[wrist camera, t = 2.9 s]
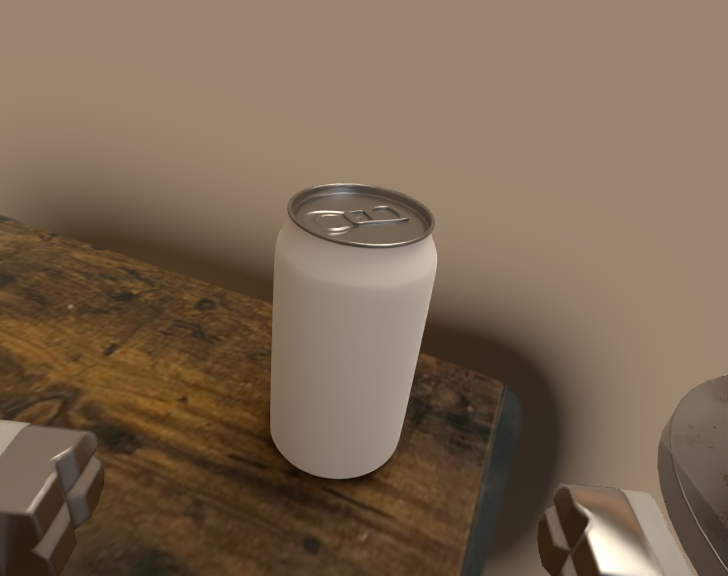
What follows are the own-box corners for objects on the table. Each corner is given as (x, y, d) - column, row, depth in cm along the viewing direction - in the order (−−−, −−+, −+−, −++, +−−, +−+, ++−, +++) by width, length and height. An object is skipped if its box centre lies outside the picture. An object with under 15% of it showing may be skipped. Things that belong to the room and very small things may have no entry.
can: (251, 405, 27) (250, 186, 20) (359, 373, 30) (388, 173, 23) (302, 506, 22) (322, 264, 16) (424, 456, 25) (482, 236, 19)
